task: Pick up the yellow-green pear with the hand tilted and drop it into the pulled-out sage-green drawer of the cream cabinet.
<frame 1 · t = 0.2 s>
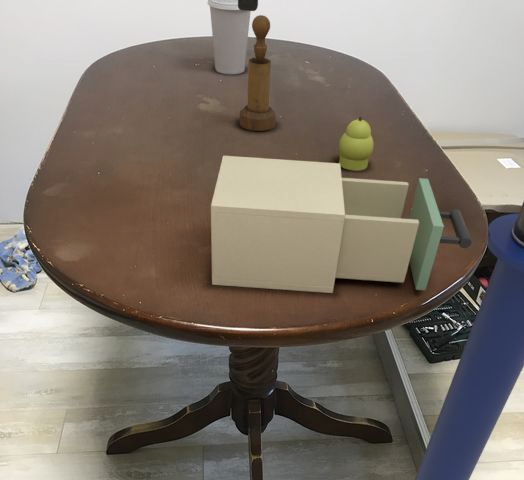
hand: (250, 1, 69), 26 cm above the table, tool pointing down, fingers open, 8 cm apart
drawer: (390, 231, 73), point 5 cm above the table, slide at 10.0 cm
cabinet: (274, 259, 77), on the table
pear: (353, 164, 99), on the table
coffee cup: (229, 70, 132), on the table
mortar and pestle: (257, 125, 109), on the table
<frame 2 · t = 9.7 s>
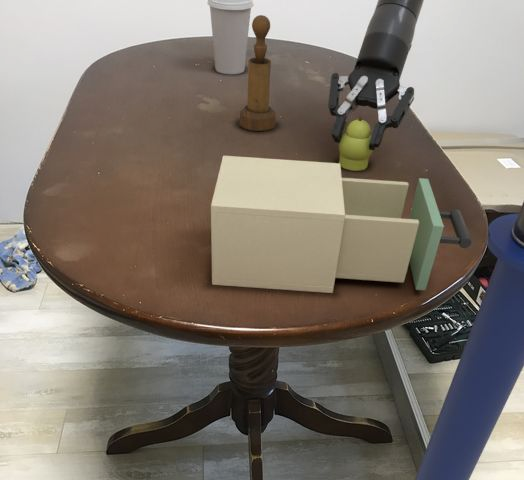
hand: (354, 144, 95), 4 cm above the table, tool tilted 45°, fingers closed on pear, 5 cm apart
pear: (353, 164, 99), on the table, touching gripper
everything else where it was.
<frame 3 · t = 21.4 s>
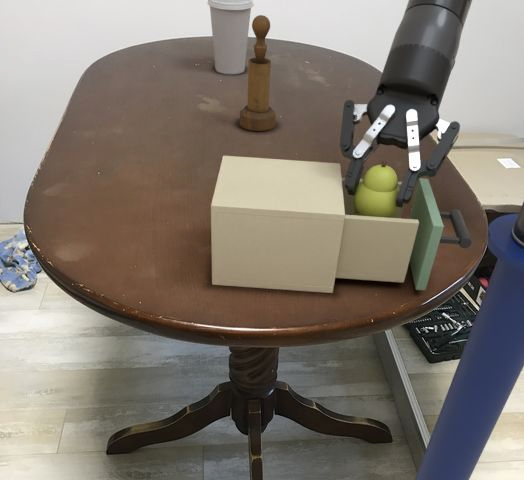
hand: (374, 198, 69), 10 cm above the table, tool tilted 45°, fingers closed on pear, 5 cm apart
pear: (372, 223, 73), point 6 cm above the table, touching gripper
everything else where it was.
when the fingers open (12 cm above the table, at t = 31.1 s): pear drops 5 cm, resting on drawer.
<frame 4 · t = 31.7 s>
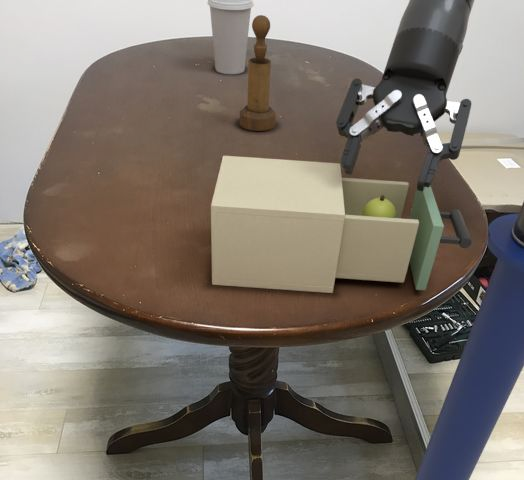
hand: (383, 180, 67), 13 cm above the table, tool tilted 45°, fingers open, 8 cm apart
drawer: (390, 231, 73), point 5 cm above the table, slide at 10.0 cm, touching pear
pear: (371, 252, 75), point 2 cm above the table, touching drawer
everything else where it was.
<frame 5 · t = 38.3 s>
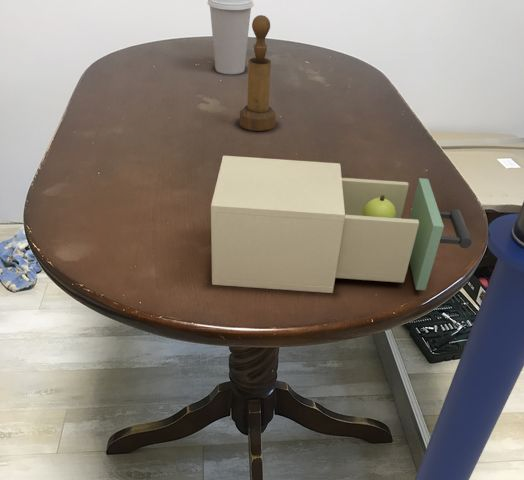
nothing on the table moved.
at the end: pear inside the target area in the drawer (0.8 cm from its centre), point 2.1 cm above the cabinet's base; the gripper is holding nothing; drawer slide at 10.0 cm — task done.
